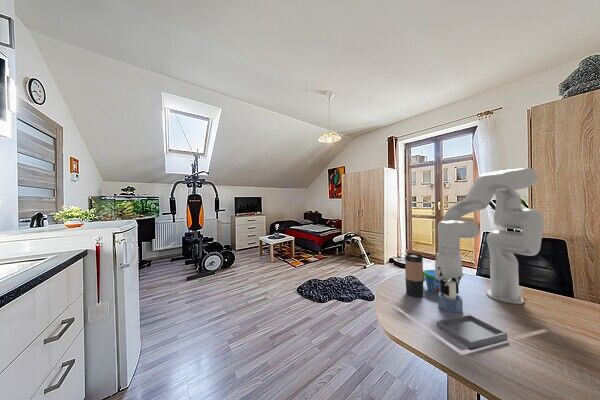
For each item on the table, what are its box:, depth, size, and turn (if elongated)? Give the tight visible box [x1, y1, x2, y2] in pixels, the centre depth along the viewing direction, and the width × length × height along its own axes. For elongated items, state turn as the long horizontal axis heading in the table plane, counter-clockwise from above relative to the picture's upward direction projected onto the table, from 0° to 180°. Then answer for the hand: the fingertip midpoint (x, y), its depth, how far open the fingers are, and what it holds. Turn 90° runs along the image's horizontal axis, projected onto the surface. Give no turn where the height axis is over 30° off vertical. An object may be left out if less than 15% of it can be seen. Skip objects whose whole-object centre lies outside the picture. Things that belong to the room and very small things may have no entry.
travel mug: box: [404, 253, 424, 298], centre depth 102 cm, size 8×8×20 cm
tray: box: [436, 313, 508, 351], centre depth 73 cm, size 16×12×2 cm
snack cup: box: [423, 269, 451, 295], centre depth 105 cm, size 16×10×10 cm
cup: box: [437, 292, 464, 314], centre depth 89 cm, size 8×8×6 cm
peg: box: [444, 280, 457, 300], centre depth 89 cm, size 4×4×11 cm
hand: (449, 292), depth 89 cm, fingers closed on peg, 4 cm apart
